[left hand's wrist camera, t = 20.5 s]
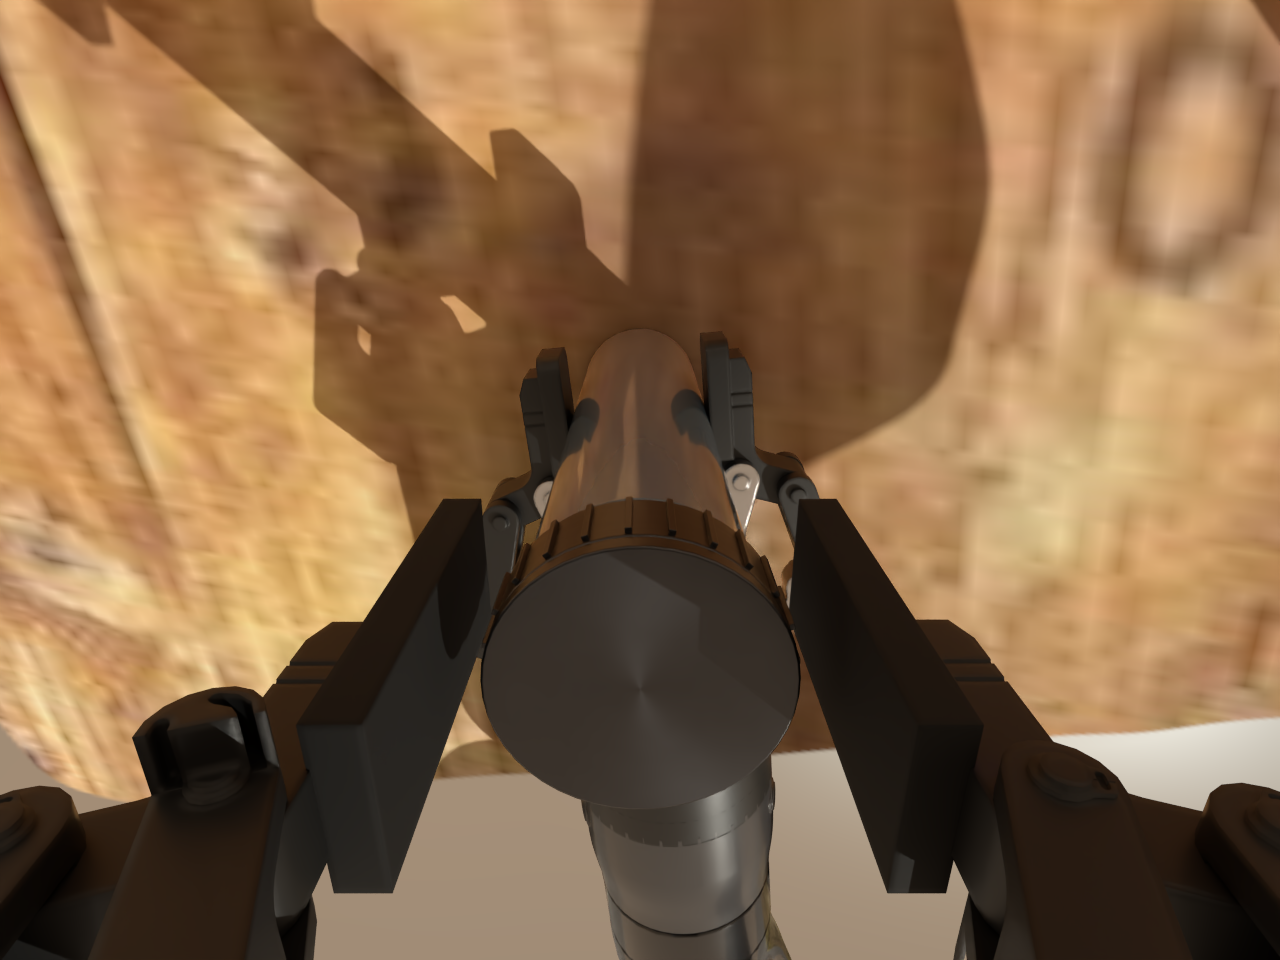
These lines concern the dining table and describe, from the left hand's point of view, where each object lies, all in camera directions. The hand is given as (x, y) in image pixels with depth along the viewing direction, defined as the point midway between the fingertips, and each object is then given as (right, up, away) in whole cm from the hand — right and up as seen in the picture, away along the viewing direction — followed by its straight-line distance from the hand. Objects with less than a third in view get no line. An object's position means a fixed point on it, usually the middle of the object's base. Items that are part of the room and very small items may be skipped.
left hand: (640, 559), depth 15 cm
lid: (0, -1, -3) cm, 4 cm away
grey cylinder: (0, +6, +14) cm, 15 cm away
